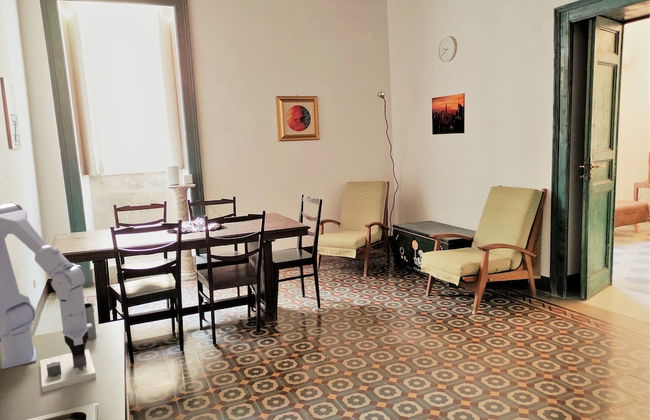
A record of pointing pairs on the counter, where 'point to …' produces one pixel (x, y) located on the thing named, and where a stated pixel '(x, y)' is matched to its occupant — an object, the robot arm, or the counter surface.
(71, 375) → the panel
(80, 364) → the block
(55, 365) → the block
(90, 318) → the planter
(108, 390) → the counter surface
